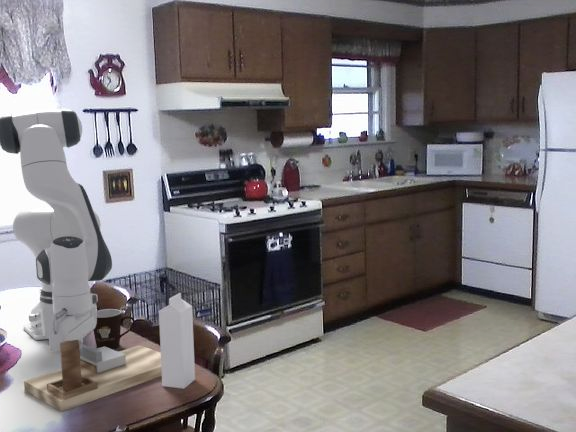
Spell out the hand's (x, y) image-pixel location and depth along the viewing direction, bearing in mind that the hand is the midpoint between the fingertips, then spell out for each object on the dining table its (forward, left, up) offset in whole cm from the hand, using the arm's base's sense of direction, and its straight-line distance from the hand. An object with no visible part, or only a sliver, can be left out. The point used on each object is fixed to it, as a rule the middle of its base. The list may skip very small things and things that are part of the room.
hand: (75, 358), depth 156 cm
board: (+4, +6, -6) cm, 9 cm away
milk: (+20, +16, -6) cm, 26 cm away
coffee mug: (-16, +20, -6) cm, 26 cm away
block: (+9, -6, -4) cm, 11 cm away
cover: (0, +7, -3) cm, 8 cm away
